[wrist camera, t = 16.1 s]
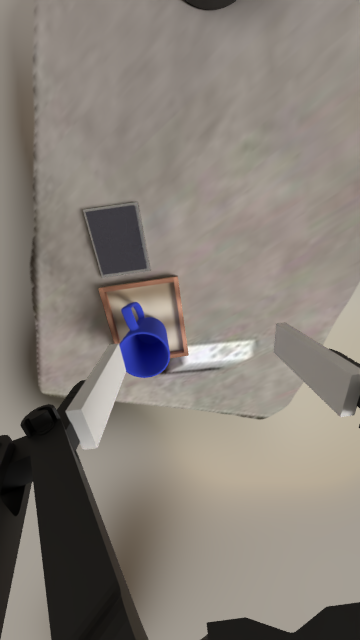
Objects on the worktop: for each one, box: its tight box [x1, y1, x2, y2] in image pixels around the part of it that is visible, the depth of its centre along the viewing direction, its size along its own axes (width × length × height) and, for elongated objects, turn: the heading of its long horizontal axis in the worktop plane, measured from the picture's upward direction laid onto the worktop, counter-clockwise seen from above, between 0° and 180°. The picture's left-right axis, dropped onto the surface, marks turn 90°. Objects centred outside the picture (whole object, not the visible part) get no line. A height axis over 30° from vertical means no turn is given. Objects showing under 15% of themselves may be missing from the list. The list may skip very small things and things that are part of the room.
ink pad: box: [83, 202, 151, 278], centre depth 31 cm, size 11×9×1 cm
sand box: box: [98, 276, 188, 358], centre depth 36 cm, size 17×15×2 cm
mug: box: [119, 302, 170, 378], centre depth 32 cm, size 8×12×10 cm
